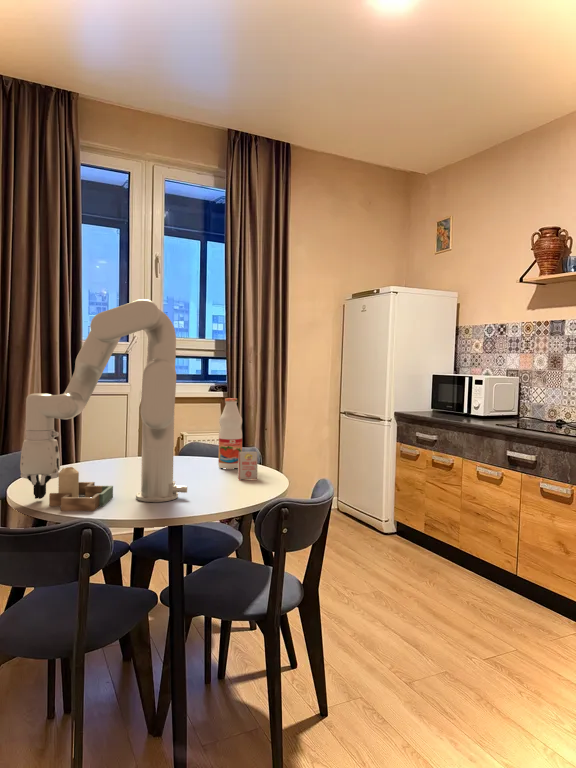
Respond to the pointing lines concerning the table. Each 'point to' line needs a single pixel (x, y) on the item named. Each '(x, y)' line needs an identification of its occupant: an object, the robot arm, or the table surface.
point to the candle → (69, 481)
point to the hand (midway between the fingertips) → (39, 497)
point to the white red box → (247, 465)
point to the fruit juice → (230, 435)
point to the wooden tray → (82, 498)
